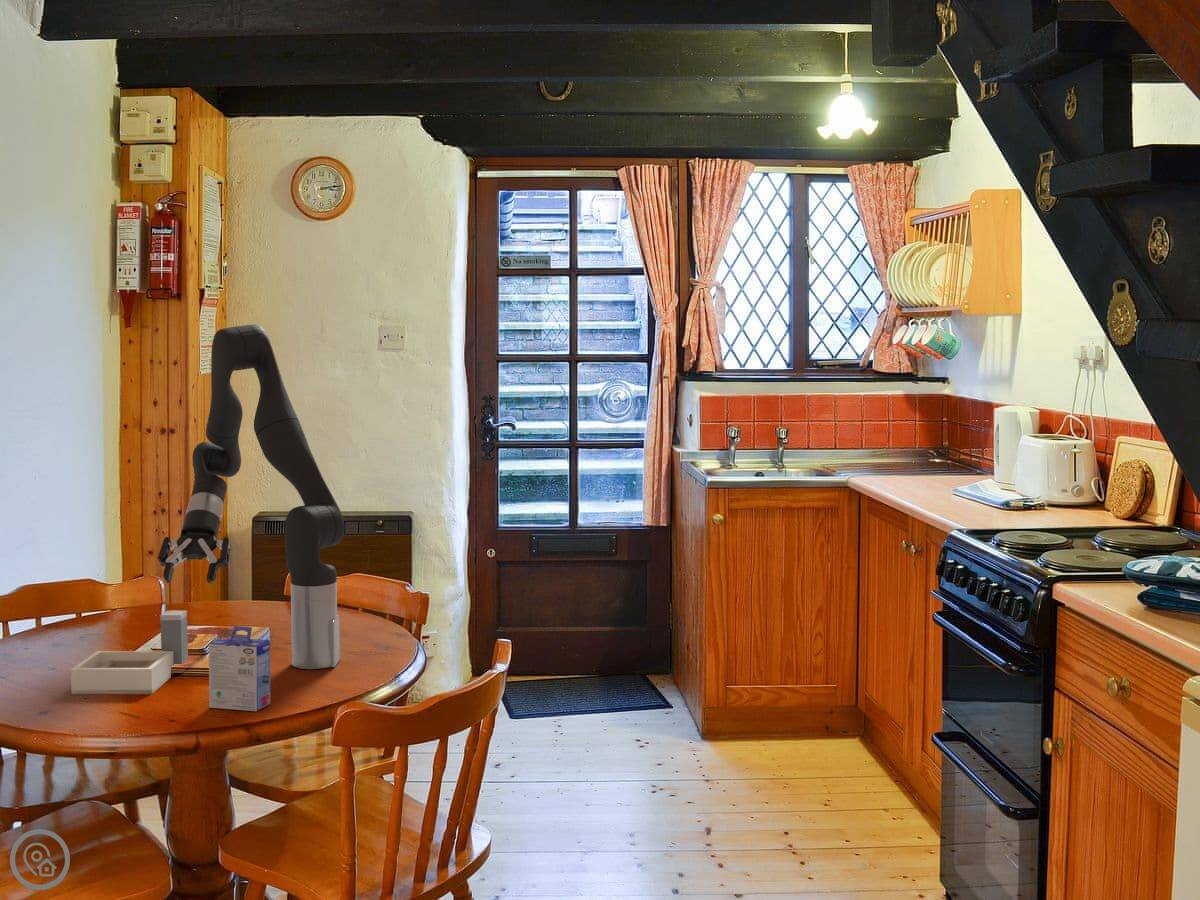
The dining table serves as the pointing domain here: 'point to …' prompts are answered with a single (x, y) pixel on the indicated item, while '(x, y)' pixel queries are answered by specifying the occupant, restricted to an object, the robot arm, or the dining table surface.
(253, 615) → the dining table surface
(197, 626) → the dining table surface
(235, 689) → the ink cartridge box
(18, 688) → the dining table surface
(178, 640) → the plug
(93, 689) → the caddy
